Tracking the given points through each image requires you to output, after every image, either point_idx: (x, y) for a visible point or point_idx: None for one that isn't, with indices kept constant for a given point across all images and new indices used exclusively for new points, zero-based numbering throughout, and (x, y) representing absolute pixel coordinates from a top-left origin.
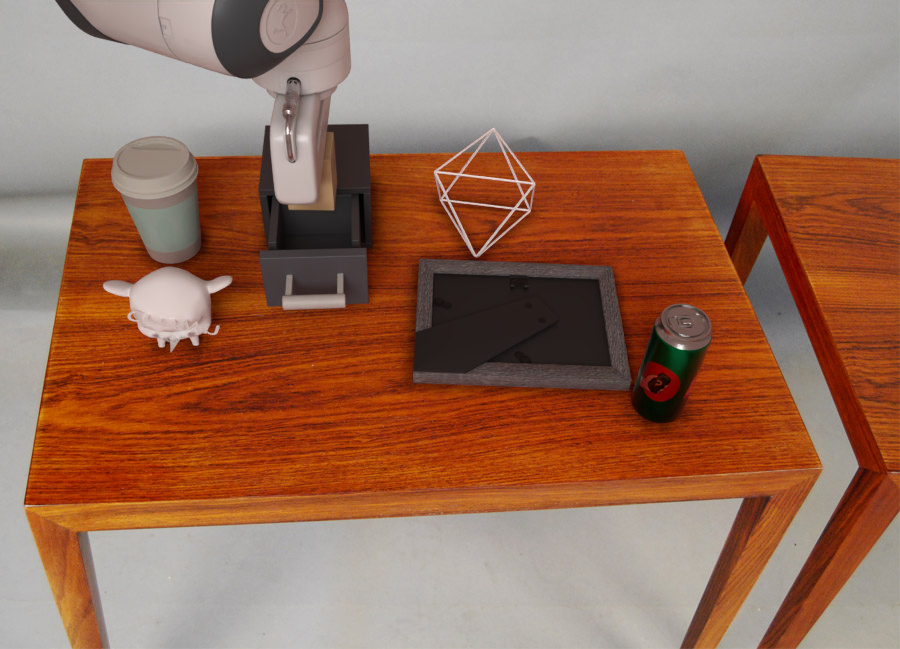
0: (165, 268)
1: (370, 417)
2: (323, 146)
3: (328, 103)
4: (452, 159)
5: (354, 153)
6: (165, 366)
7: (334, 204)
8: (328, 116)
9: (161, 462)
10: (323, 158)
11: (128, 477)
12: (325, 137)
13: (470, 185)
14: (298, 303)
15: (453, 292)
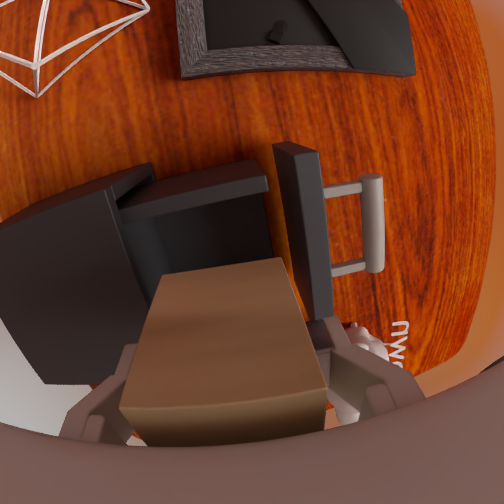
0: (350, 407)
1: (444, 127)
2: (401, 470)
3: (54, 490)
4: (2, 52)
5: (26, 251)
6: (376, 336)
7: (269, 263)
8: (94, 467)
9: (460, 299)
10: (424, 426)
11: (464, 313)
12: (283, 479)
13: (9, 72)
14: (384, 247)
15: (249, 19)
